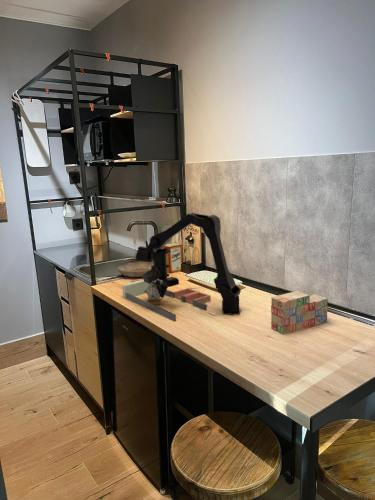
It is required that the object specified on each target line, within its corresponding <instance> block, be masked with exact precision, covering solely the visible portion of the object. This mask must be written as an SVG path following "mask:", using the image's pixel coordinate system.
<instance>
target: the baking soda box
mask: <svg viewBox="0 0 375 500" xmlns="http://www.w3.org/2000/svg"><path fill="white" fill-rule="evenodd" d="M166 247H167V248H168V249H169V250H170V251H171V252H170V253H168V254H166V261H167V265H169V267H168V268H167V274H169V275H170V274H171V275H172V274H175V273H179V272H182V271H181V264H182V263H184V262H183V259H184V258H183V244H181V243H178V242H177V243H176V242H174V243H167V244H166V245H165V246H163V247H161V249H164V248H166Z"/></svg>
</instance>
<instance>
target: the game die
mask: <svg viewBox="0 0 375 500" xmlns="http://www.w3.org/2000/svg"><path fill="white" fill-rule="evenodd" d="M144 292H146V293H145V294H146V296H147V298H148V301H151V300H158V301H160V302H161V297H160V294H159V292H158V289H157V287H156V285H154V284H149V286H148V288H147V290H146V291H144Z"/></svg>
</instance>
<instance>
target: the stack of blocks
mask: <svg viewBox="0 0 375 500" xmlns="http://www.w3.org/2000/svg"><path fill="white" fill-rule="evenodd" d="M270 309H271V310H270V314H271V319H270V320H271V321H270V324H271V325H270V326H271V327H270V328H271V330H273V331H275V332H277V333H279V334H281V335H287V334H290V333H293V332H297V331H302V330H303V329H306V328H310V327H315V326H317V325H320V324H324V323H327V322H328V298H327V297H324V296H321V295H318V294H317V293H315V294H311V295H310V294H309V293H303V292H301V291H299V290H296V291H293V292H292V291H291V292H287V293H283V294H279V295H275V296H272V297H271V306H270Z"/></svg>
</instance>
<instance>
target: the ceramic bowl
mask: <svg viewBox="0 0 375 500" xmlns="http://www.w3.org/2000/svg"><path fill="white" fill-rule="evenodd" d="M152 265H153V261H152V262H138V261H136V262H135V261H134V262H128V263H124V264H121V265H120V266H118V267H117V271H118V272H119V273H120V275H123V276H125V277H129V278H143V277H142V275H143V274H145V273H146V272H148V271H150V270H151V267H152Z"/></svg>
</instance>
